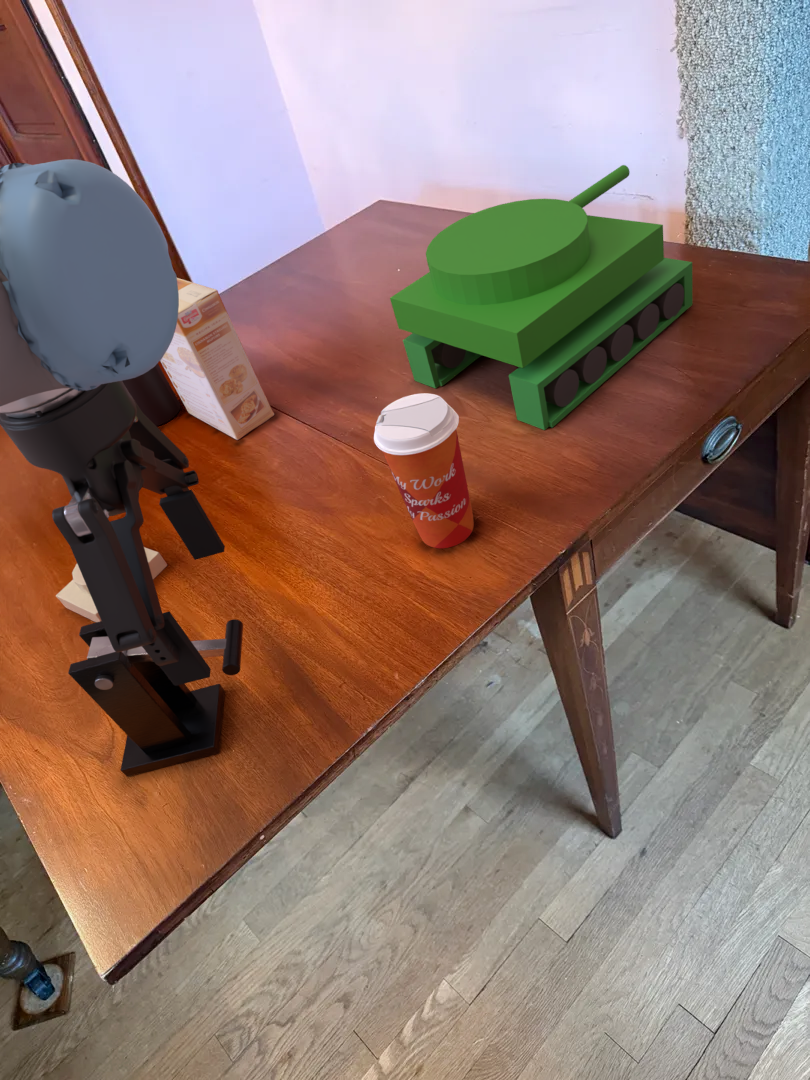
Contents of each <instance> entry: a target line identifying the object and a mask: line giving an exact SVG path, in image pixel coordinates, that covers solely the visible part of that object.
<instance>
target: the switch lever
mask: <svg viewBox="0 0 810 1080" xmlns="http://www.w3.org/2000/svg"><path fill="white" fill-rule="evenodd" d="M224 633H225V634H224V638H215V639H213V638H212V639H202V640H199V639H198V640H190V641H191V642H192V643H193V645H194V646H195V648H196V649H197V650H198V652H199V653H200V655H201V656H202V657H203V659H204V658H218V657H222V666H221V667H222V668H221V671H222V672H223V674H225V675H227V676H235V675H238V674H239V673H240V672H241V665H242V664H241V663H242V651H243V637H244V635H243V634H244V624H243V622H242V621H241V620H239V619H230V620H228V621H227V622H226V624H225V632H224ZM88 648H89V649H88V652H87V656H86V660H87V659H90V658H94V657H98V656H101V655H105V654H109V653H112V652H116V651H115V650H114V649H113V647H112V645H111V642H110V640H109V638H108V636H106V637H93V638H92V641H91V644H90V647H88ZM122 652H123V653H124V655H125V656H126V657H127V658H128V659H129V661H130V662H131V663H136V662H149V661H153V660H152V659H151V657H150V656H149V655H148V654H147V652H146V651H145V650H144V648H143V647H142V646H141V647H137V648H133V649H129V650H126V651H122Z"/></svg>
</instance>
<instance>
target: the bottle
mask: <svg viewBox="0 0 810 1080" xmlns="http://www.w3.org/2000/svg"><path fill="white" fill-rule="evenodd" d="M122 382H123V383H124V385H125V387H126V388H127V390H128V392H129V393H130V395H131V396H132V397H133V399H134V400H135V402H136V403H137V405H138V406H139V408H140V409H141V411H142V412H143V414H144V415H145V416H146V417H147V418H148V419H149V420H150V421H151V422H152V423H154V424H155V425H156V426H157V427H159V426H161V425H164V424H165V423H168V422H169V421H171V420H173V418H175V417H176V416H177V415H178V414H179V412H180V410H181V403H180V400H179V399H178V397H177V395H176V393H175V392H174V389H173V388H172V386H171V383H170V382H169V380H168V378H167V377H166V375H165V374H164V372H163V370H162V368H161V366H160V364H159V362H158V363H157V364H156V365H155V366H154V367H153V368H152V369H150V370H149V371H148V372H146V373H144V374H142V375H140V376H138V377H135V378H132V379H128V380H122Z"/></svg>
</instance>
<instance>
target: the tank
mask: <svg viewBox="0 0 810 1080" xmlns="http://www.w3.org/2000/svg"><path fill="white" fill-rule="evenodd" d="M630 174H631V173H630V168H629V167H628V166H627V165H626V164H622V165H620V166H619V167H617V168H616V169H614V170H613V171H611V172H609V173H608V174H606V175H605V176H604V177H602V178H601V179H599V180H598V181H596V182H595V183H593V184H592V185H591V186H589V187H587V188H586V189H585V190H583V191H581V192H579V194H577V195H576V196H574V197H572V198H571V199H570V200H564V199H557V198H533V199H532V198H529V199H523V200H522V199H521V200H515V201H510V202H505V203H501V204H498V205H494V206H490V207H487V208H484V209H482V210H478V211H476V212H473V213H471V214H469V215H467V216H465V217H463V218H460V219H458V220H456V221H455V222H453V223H452V224H451V223H450V225H448V226H446V227H445V228H444V229H442V230H441V231H440V232H438V234H436V236H434V238H432V239H431V241H430V243H429V244H428V246H427V248H426V251H425V257H426V258H425V259H426V263H427V267H428V272H427V273H426V274H423V276H421V277H420V278H417V279H416V280H415V281H413V282H412V283H410V284H409V285H407V286H406V287H404V288H403V289H401V290H399V291H398V292H397V293H395V294H394V295H392V296H391V297H389V300H390V304H391V307H392V311H393V314H394V316H395V320H396V324H397V328H398V330H401V331H404V332H407V333H411V334H409V335H408V336H407V337H405V338H404V339H402V343H403V346H404V350H405V354H406V357H407V360H408V363H409V368H410V370H411V373H412V377H413V380H414V381H415V382H417V383H419V384H423V385H425V386H428V387H430V388H432V389H438V388H439V387H443V386H444V385H446V384H447V383H449V382H450V381H451V380H452V379H453V378H455V377H456V376H457V375H459V374H460V373H461V372H462V371H464V370H465V369H466V368H468V367H469V366H470V365H471V364H472V363H474V362H475V361H476V360H478V359H479V358H480V357H481V356H484V357H486V358H490V359H493V360H496V361H499V362H502V363H505V364H509V365H512V366H515V367H516V369H515V370H513V371H512V372H511V373H509V374H508V380H509V385H510V390H511V394H512V395H511V396H512V401H513V405H514V411H515V415H516V420H517V421H519V422H521V423H524V424H527V425H530V426H533V427H536V428H538V429H540V430H542V431H546V430H547V429H548V428H554V427H555V426H556V425H557V424H559V422H561V421H562V420H563V419H564V418H565V417H567V416H568V415H569V414H570V413H571V412H572V411H573V410H574V409H575V408H577V407H578V406H579V405H580V404H581V403H582V402H583V401H585V400H586V399H587V398H588V397H589V396H590V395H592V393H593V392H595V391H596V390H597V389H598V388H600V387H601V385H603V384H604V383H605V382H607V380H608V379H609V378H610V377H612V376H613V375H614V374H615V373H616V372H618V371H619V370H620V369H621V368H622V367H623V366H625V364H627V363H628V362H629V361H630V360H631V359H632V358H633V357H635V356H636V355H637V354H638V353H639V352H641V350H642V349H644V348H645V347H646V346H647V345H648V344H649V343H650V342H651V341H653V340H654V339H655V338H656V337H657V336H659V335H660V334H661V333H662V332H663V331H664V330H665V329H667V327H669V326H670V325H671V324H672V323H673V322H674V321H676V320H677V319H678V318H679V317H680V316H681V315H682V314H683V313H684V312H686V311H687V310H688V309H690V307H692V306H693V304H694V303H693V302H694V301H693V261H686V260H682V259H676V258H669V257H665V250H664V246H665V245H664V244H665V243H664V224H661V223H660V224H659V223H652V222H644V221H637V220H629V219H621V218H612V217H605V216H598V215H597V216H596V215H589V214H587V212H586V210H585V209H584V208H585V207H586V206H588V205H589V204H591V203H592V202H594V201H595V200H596V199H598V198H599V197H601V196H602V195H604V194H606V193H607V191H609V190H610V189H611V190H612V189H613V188H614V187H615V186H617V185H619V184H620V183H621V182H623V181H624V180H625V179H627V178H628V177H629V176H630ZM517 367H518V368H517Z"/></svg>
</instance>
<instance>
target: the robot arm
mask: <svg viewBox="0 0 810 1080" xmlns="http://www.w3.org/2000/svg"><path fill="white" fill-rule="evenodd" d="M177 278H178V277H177V274H176V271H175V270H174V268H173V264H172V260H171V257H170V254H169V244H168V242H167V239H166V237H165V235H164V232H163V230H162V228H161V226H160V224H159V222H158V220H157V219H156V217H155V216H154V213H153V212H152V211H151V209H150V208H149V206H148V204H146V202H145V200H144V199H142V197H141V196H140V195H139V194H138V193H137V191H135V190H134V189H133V188H132V187H131V186H130V185H129V183H127V182H126V181H125V180H123V178H121V177H120V176H119V175H117V174H116V173H114V172H113V171H111V170H110V169H107V168H105V167H103V166H101V165H99V164H97V163H94V162H91V161H86V160H81V159H75V158H74V159H72V158H71V159H69V158H68V159H59V160H53V161H47V162H43V163H36V164H30V163H26V162H24V163H23V162H12V163H9V164H6V165H3V166H0V426H1V428H2V429H3V431H4V432H5V433H6V435H7V436H8V437H9V438H10V440H11V441H12V443H13V444H14V445H15V446H16V448H17V449H18V450H19V452H20V453H21V454H22V456H23V457H24V459H25V460H26V461H27V462H28V463H29V464H30V465H32V466H33V467H36V468H40V469H44V470H47V471H48V470H49V471H52V472H55V473H58V474H59V475H60V476H61V477H62V479H63V482H64V483H65V485H66V487H67V489H68V492H69V495H70V496H71V498H70V501H68V504H66V505H63V506H59V507H56V508H54V509H53V510H52V512H51V517H52V520H53V522H54V525H55V526H56V527H57V529H58V530H59V532H60V534H61V535H62V536H63V538H64V539H65V541H66V542H67V543H68V545H69V547H70V550H71V552H72V554H73V557H74V559H75V561H76V564H78V566H79V569H80V571H81V573H82V576H83V578H84V581H85V583H86V585H87V588H88V590H89V592H90V595H91V597H92V600H93V602H94V604H95V607H96V609H97V611H98V614H99V616H100V619H101V621H102V623H103V626H104V628H105V630H106V633H107V635H108V638H109V640H110V642H111V645H112V647H113V649H114V650H115V651H116V652H122V651H126V650H129V649H133V648H137V647H141V646H142V647H143V648H144V650H145V651H146V652H147V654H148V655H149V656H150V657H151V659H152V660H153V661H154V662H155V664H157V665H158V666H160V668H161V669H162V670H163V672H164V673H165V674H166V675H167V677H168V678H169V679H170V680H171V682H172V683H173V684H174V685H175V686H177V685H181V684H185V685H186V684H189V683H193V682H195V681H200V680H203V679H204V680H205V679H208V678H211V672H212V671H211V667H210V666H209V664H208V663H207V662H206V660H205V659H204V658H203V657H202V656H201V655H200V653H199V652H198V650H197V649H196V648H195V646H194V645H193V643H192V642H191V641H192V640H191V639H190V637H189V636H188V635H187V634H186V632H185V630H184V629H183V628H182V626H181V625H180V624H179V622H178V621H177V620H176V618H175V617H174V615H173V614H172V613H171V611H165V612H163V611H162V607H161V604H160V600H159V599H160V598H159V597H158V592H157V589H156V585H155V581H154V579H153V578H152V574H151V571H150V567H149V564H148V560H147V556H146V553H145V549H144V547H145V545H144V541H143V538H142V535H141V532H140V529H141V527H142V526H143V524H144V521H145V520H144V515H143V511H142V508H141V505H140V501H139V499H140V497H139V496H140V492H141V489H142V488H143V489H145V490H148V491H151V492H153V493H156V494H158V495H161V496H162V495H166V496H163V497H160V499H159V502H158V504H159V507H160V508H161V509H162V511H163V512H164V514H165V516H166V518H167V519H168V520H169V522H170V523H171V525H172V526H173V528H174V530H175V531H176V533H177V534H178V536H179V538H180V539H181V541H182V542H183V544H184V546H185V547H186V549H187V550H188V552H189V553H190V555H191V556H192V558H193V560H195V561H197V560H199V559H200V560H201V559H203V558H207V557H210V556H214V555H218V554H221V553H224V552H225V548H226V547H225V546H226V545H225V543H224V542H223V540H222V539H221V537H220V536H219V534H218V532H217V530H216V529H215V526H214V525H213V523H212V522H211V520H210V519H209V517H208V515H207V513H206V512H205V510H204V508H203V507H202V505H201V503H200V501H199V500H198V498H197V496H196V495H195V493H194V491H193V490H192V489H189V487H193V486H197V485H199V482H200V480H199V475H198V473H197V471H196V470H194V469H193V470H190V471H186V472H185V471H184V470H185V469H188V468H189V467H190V461H189V458H188V457H187V456H186V454H185V453H184V452H183V451H182V450H181V449H180V448H179V447H178V446H177V445H176V444H175V443H174V442H173V441H172V440H171V439H170V438H169V437H168V436H167V435H166V434H165V433H164V432H163V431H162V430H161V429H160V428H159V426H156V425H155V424H154V423H152V422H151V421H150V420H149V419H148V418H147V417H146V416H145V415H144V414H143V412H142V411H141V409H140V408H139V406H138V405H137V403H136V402H135V400H134V399H133V397H132V396H131V395H130V393H129V392H128V390H127V388H126V387H125V385H124V383H123V382H122V380H128V379H132V378H135V377H138V376H140V375H142V374H144V373H146V372H148V371H149V370H150V369H152V368H153V367H154V366H155V365H156V364H157V363H158V364H159V362H160V360H161V359H162V357H163V356H164V354H165V353H166V351H167V349H168V347H169V345H170V343H171V341H172V339H173V336H174V333H175V329H176V325H177V319H178V309H179V293H178V285H177ZM121 514H125V515H124V516H123V517H121V518H117V519H115V520H114V519H113V520H110V519H109V518H110V517H115V516H118V515H121Z"/></svg>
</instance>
